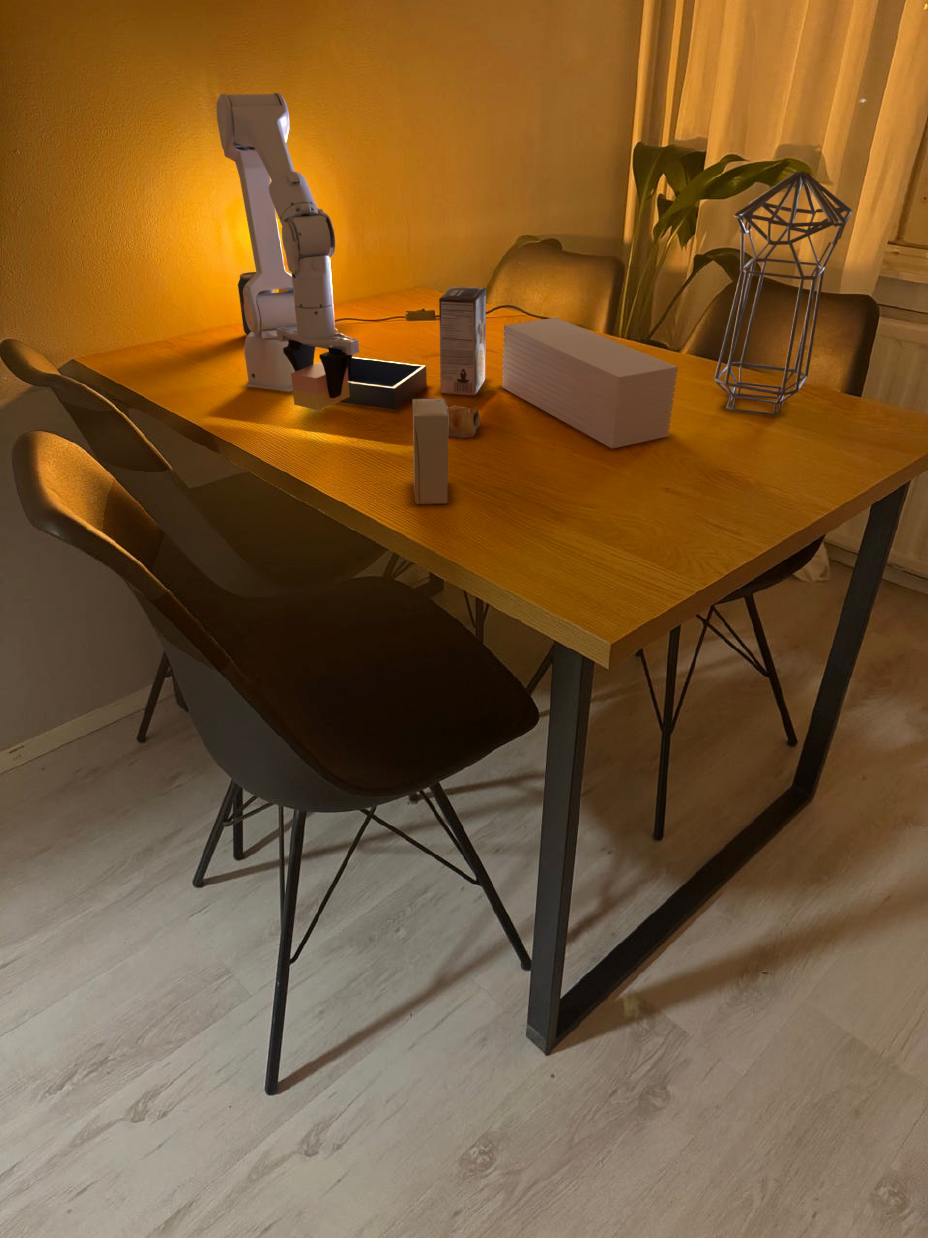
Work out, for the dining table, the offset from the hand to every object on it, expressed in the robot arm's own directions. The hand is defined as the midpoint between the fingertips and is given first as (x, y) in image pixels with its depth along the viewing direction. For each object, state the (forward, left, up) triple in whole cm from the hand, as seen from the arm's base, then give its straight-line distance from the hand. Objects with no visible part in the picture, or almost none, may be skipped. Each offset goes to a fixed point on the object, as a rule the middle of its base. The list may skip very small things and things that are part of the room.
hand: (321, 393), depth 137 cm
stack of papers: (+37, +19, -4) cm, 42 cm away
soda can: (-36, +39, -4) cm, 53 cm away
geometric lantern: (+64, +32, -4) cm, 72 cm away
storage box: (+1, +14, -4) cm, 15 cm away
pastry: (+21, +3, -4) cm, 22 cm away
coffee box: (+15, +23, -4) cm, 28 cm away
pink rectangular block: (0, 0, -1) cm, 1 cm away
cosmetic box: (+27, -20, -4) cm, 34 cm away
